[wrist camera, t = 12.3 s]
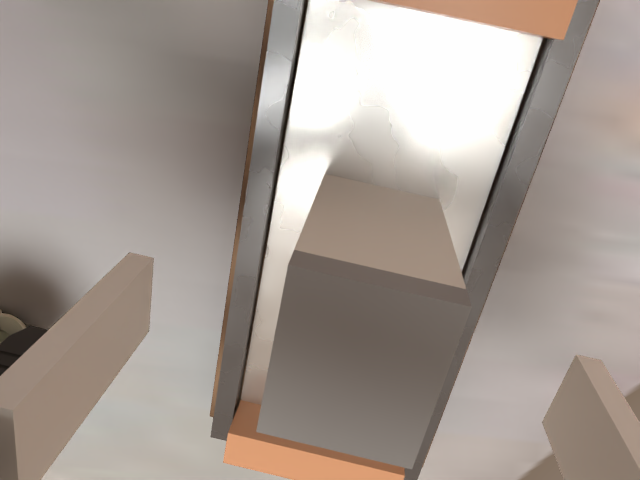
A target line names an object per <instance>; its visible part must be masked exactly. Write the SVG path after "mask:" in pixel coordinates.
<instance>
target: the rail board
mask: <svg viewBox="0 0 640 480" xmlns="http://www.w3.org/2000/svg"><path fill="white" fill-rule="evenodd" d="M599 2H600V0H268V7H267V14H266V21H265V28H264V35H263V42H262V49H261V56H260V63H259V71H258V78H257V85H256V92H255V99H254V106H253V113H252V120H251V127H250V134H249V141H248V148H247V156H246V163H245V170H244V177H243V184H242V191H241V198H240V205H239V212H238V219H237V226H236V234H235V241H234V248H233V255H232V262H231V269H230V276H229V283H228V290H227V297H226V304H225V311H224V319H223V326H222V333H221V340H220V347H219V354H218V361H217V368H216V375H215V382H214V389H213V397H212V404H211V411H210V416H211V417H213V424H212V431H211V437H213V438H217V439H221V440H225V441H227V442H226V448H225V454H224V461H223V463H227V464H231V465H235V466H239V467H243V468H247V469H252V470H256V471H260V472H264V473H268V474H272V475H276V476H280V477H284V478H288V479H293V480H417V479H418V476H419V474H420V471H421V469H422V467H423V465H424V462H425V459H426V457H427V454H428V451H429V449H430V446H431V444H432V441H433V438H434V436H435V433H436V430H437V428H438V425H439V423H440V420H441V417H442V415H443V412H444V409H445V407H446V404H447V402H448V399H449V396H450V394H451V391H452V388H453V386H454V383H455V380H456V378H457V375H458V373H459V370H460V367H461V365H462V362H463V359H464V357H465V354H466V352H467V349H468V346H469V344H470V341H471V338H472V336H473V333H474V330H475V328H476V325H477V323H478V320H479V317H480V315H481V312H482V309H483V307H484V304H485V302H486V299H487V296H488V294H489V291H490V288H491V286H492V283H493V280H494V278H495V275H496V273H497V270H498V267H499V265H500V262H501V259H502V257H503V254H504V252H505V249H506V246H507V244H508V241H509V238H510V236H511V233H512V230H513V228H514V225H515V223H516V220H517V217H518V215H519V212H520V209H521V207H522V204H523V202H524V199H525V196H526V194H527V191H528V188H529V186H530V183H531V180H532V178H533V175H534V173H535V170H536V167H537V165H538V162H539V159H540V157H541V154H542V152H543V149H544V146H545V144H546V141H547V138H548V136H549V133H550V130H551V128H552V125H553V123H554V120H555V117H556V115H557V112H558V109H559V107H560V104H561V102H562V99H563V96H564V94H565V91H566V88H567V86H568V83H569V81H570V78H571V75H572V73H573V70H574V67H575V65H576V62H577V59H578V57H579V54H580V52H581V49H582V46H583V44H584V41H585V38H586V36H587V33H588V31H589V28H590V25H591V23H592V20H593V17H594V15H595V12H596V9H597V7H598V4H599ZM324 174H328V175H332V176H337V177H341V178H346V179H350V180H355V181H359V182H364V183H368V184H373V185H377V186H381V187H386V188H390V189H395V190H399V191H404V192H408V193H413V194H417V195H421V196H426V197H430V198H435V199H439V200H440V202H441V206H442V209H443V212H444V216H445V219H446V222H447V226H448V229H449V232H450V236H451V239H452V242H453V246H454V249H455V253H456V256H457V259H458V263H459V266H460V269H461V273H462V276H463V279H464V283H465V286H466V289H467V293H468V296H469V299H470V303H471V306H472V308H471V311H470V313H469V316H468V319H467V322H466V324H465V327H464V330H463V332H462V335H461V338H460V341H459V343H458V346H457V349H456V351H455V354H454V357H453V360H452V362H451V365H450V368H449V370H448V373H447V376H446V379H445V381H444V384H443V387H442V389H441V392H440V395H439V398H438V400H437V403H436V406H435V408H434V411H433V414H432V417H431V419H430V422H429V425H428V427H427V430H426V433H425V436H424V438H423V441H422V444H421V446H420V449H419V452H418V455H417V457H416V460H415V463H414V465H413V468H412V469H408V468H404V467H399V466H395V465H391V464H387V463H383V462H379V461H374V460H370V459H366V458H362V457H358V456H354V455H350V454H345V453H341V452H337V451H333V450H329V449H325V448H321V447H316V446H312V445H308V444H304V443H300V442H296V441H292V440H287V439H283V438H279V437H275V436H271V435H267V434H262V433H258V432H256V430H257V425H258V419H259V414H260V409H261V404H262V398H263V393H264V388H265V383H266V377H267V372H268V367H269V362H270V356H271V351H272V346H273V341H274V335H275V330H276V325H277V320H278V315H279V309H280V304H281V299H282V294H283V288H284V283H285V278H286V273H287V267H288V264H289V261H290V259H291V256H292V254H293V251H294V249H295V246H296V244H297V241H298V239H299V236H300V234H301V231H302V229H303V226H304V224H305V221H306V219H307V216H308V214H309V211H310V209H311V206H312V204H313V201H314V199H315V196H316V194H317V191H318V189H319V186H320V184H321V181H322V179H323V176H324Z"/></svg>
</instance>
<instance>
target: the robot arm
mask: <svg viewBox="0 0 640 480" xmlns="http://www.w3.org/2000/svg"><path fill="white" fill-rule="evenodd" d="M153 262H154V258H152V257H148V256H143V255H139V254H135V253H130V252H129V253H128V254H127V255H126V256H125V257H124V258H123V259H122V260H121V261H120V262H119V263H118V264H117V265H116V266H115V267H114V268H113V269H112V270H111V271H110V272H109V273H108V274H106V275H105V276H104V277H103V278H102V279H101V280H100V281H99V282H98V283H97V284H96V285H95V286H94V287H93V288H92V289H91V290H90V291H89V292H88V293H87V294H86V295H85V296H83V297H82V298H81V299H80V300H79V301H78V302H77V303H76V304H75V305H74V306H73V307H72V308H71V309H70V310H69V311H68V312H67V313H66V314H65V315H64V316H63V317H62V318H61V319H59V320H58V321H57V322H56V323H55V324H54V325H53V326H52V327H51V328H50V329H49V330H46V329H42V328H37V327H33V326H29V327H27V328H25V329H22V330H20V331H18V332H16V333H14V334H12V335H10V336H8V337H7V338H6V339H5V340H4V341H3V342H1V343H0V480H41V478H42V477H43V476H44V474H45V473H46V472H47V470H48V469H49V467H50V466H51V465H52V463H53V462H54V461H55V459H56V458H57V457H58V455H59V454H60V452H61V451H62V450H63V448H64V447H65V446H66V444H67V443H68V441H69V440H70V439H71V437H72V436H73V435H74V433H75V432H76V430H77V429H78V428H79V426H80V425H81V424H82V422H83V421H84V420H85V418H86V417H87V415H88V414H89V413H90V411H91V410H92V409H93V407H94V406H95V404H96V403H97V402H98V400H99V399H100V398H101V396H102V395H103V393H104V392H105V391H106V389H107V388H108V387H109V385H110V384H111V383H112V381H113V380H114V378H115V377H116V376H117V374H118V373H119V372H120V370H121V369H122V367H123V366H124V365H125V363H126V362H127V361H128V359H129V358H130V356H131V355H132V354H133V352H134V351H135V350H136V348H137V347H138V346H139V344H140V343H141V341H142V340H143V339H144V337H145V336H146V335H147V333H148V332H149V324H150V309H151V293H152V277H153ZM542 423H543V426H544V429H545V431H546V434H547V436H548V439H549V442H550V444H551V447H552V450H553V452H554V455H555V457H556V460H557V463H558V465H559V468H560V470H561V473H562V476H563V478H564V480H640V423H639V421H638V419H637V417H636V416H635V414H634V413H633V411H632V409H631V408H630V406H629V405H628V403H627V401H626V400H625V398H624V396H623V395H622V393H621V391H620V390H619V388H618V387H617V385H616V383H615V382H614V380H613V378H612V377H611V375H610V374H609V372H608V370H607V369H606V367H605V365H604V364H603V362H602V361H601V360H598V359H594V358H589V357H585V356H581V355H576V356H575V358H574V360H573V362H572V364H571V366H570V368H569V370H568V372H567V374H566V376H565V378H564V380H563V382H562V384H561V386H560V388H559V390H558V392H557V394H556V396H555V398H554V400H553V402H552V404H551V406H550V408H549V409H548V411H547V413H546V415H545V417H544V419H543V421H542Z"/></svg>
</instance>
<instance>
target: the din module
mask: <svg viewBox="0 0 640 480" xmlns="http://www.w3.org/2000/svg"><path fill="white" fill-rule="evenodd" d="M471 308H472V306H471V303H470V299H469V296H468V293H467V289H466V286H465V283H464V279H463V276H462V273H461V269H460V266H459V263H458V259H457V256H456V253H455V249H454V246H453V242H452V239H451V236H450V232H449V229H448V226H447V222H446V219H445V216H444V212H443V209H442V206H441V202H440V200H439V199H435V198H430V197H426V196H421V195H417V194H413V193H408V192H404V191H399V190H395V189H390V188H386V187H381V186H377V185H373V184H368V183H364V182H359V181H355V180H350V179H346V178H341V177H337V176H332V175H328V174H324V176H323V179H322V181H321V184H320V186H319V189H318V191H317V194H316V196H315V199H314V201H313V204H312V206H311V209H310V211H309V214H308V216H307V219H306V221H305V224H304V226H303V229H302V231H301V234H300V236H299V239H298V241H297V244H296V246H295V249H294V251H293V254H292V256H291V259H290V261H289V264H288V267H287V273H286V278H285V283H284V288H283V294H282V299H281V304H280V309H279V315H278V320H277V325H276V330H275V335H274V341H273V346H272V351H271V356H270V362H269V367H268V372H267V377H266V383H265V388H264V393H263V398H262V404H261V409H260V414H259V419H258V425H257V430H256V432H258V433H262V434H267V435H271V436H275V437H279V438H283V439H287V440H292V441H296V442H300V443H304V444H308V445H312V446H316V447H321V448H325V449H329V450H333V451H337V452H341V453H345V454H350V455H354V456H358V457H362V458H366V459H370V460H374V461H379V462H383V463H387V464H391V465H395V466H399V467H404V468H408V469H412V468H413V465H414V463H415V460H416V457H417V455H418V452H419V449H420V446H421V444H422V441H423V438H424V436H425V433H426V430H427V427H428V425H429V422H430V419H431V417H432V414H433V411H434V408H435V406H436V403H437V400H438V398H439V395H440V392H441V389H442V387H443V384H444V381H445V379H446V376H447V373H448V370H449V368H450V365H451V362H452V360H453V357H454V354H455V351H456V349H457V346H458V343H459V341H460V338H461V335H462V332H463V330H464V327H465V324H466V322H467V319H468V316H469V313H470V311H471Z"/></svg>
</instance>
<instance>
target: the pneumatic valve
mask: <svg viewBox="0 0 640 480" xmlns="http://www.w3.org/2000/svg"><path fill="white" fill-rule="evenodd" d="M25 328H27V327H26V326H25V325H24V323H23V322H22V321H21V320H19V319H18V318H16V317H15V316H12V315H10V314H5V313H2V311H1V310H0V343H1V342H3V341H4V340H5V339H6V338H7V337H8V336H10V335H12V334H14V333H16V332H18V331H20V330H22V329H25Z"/></svg>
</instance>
